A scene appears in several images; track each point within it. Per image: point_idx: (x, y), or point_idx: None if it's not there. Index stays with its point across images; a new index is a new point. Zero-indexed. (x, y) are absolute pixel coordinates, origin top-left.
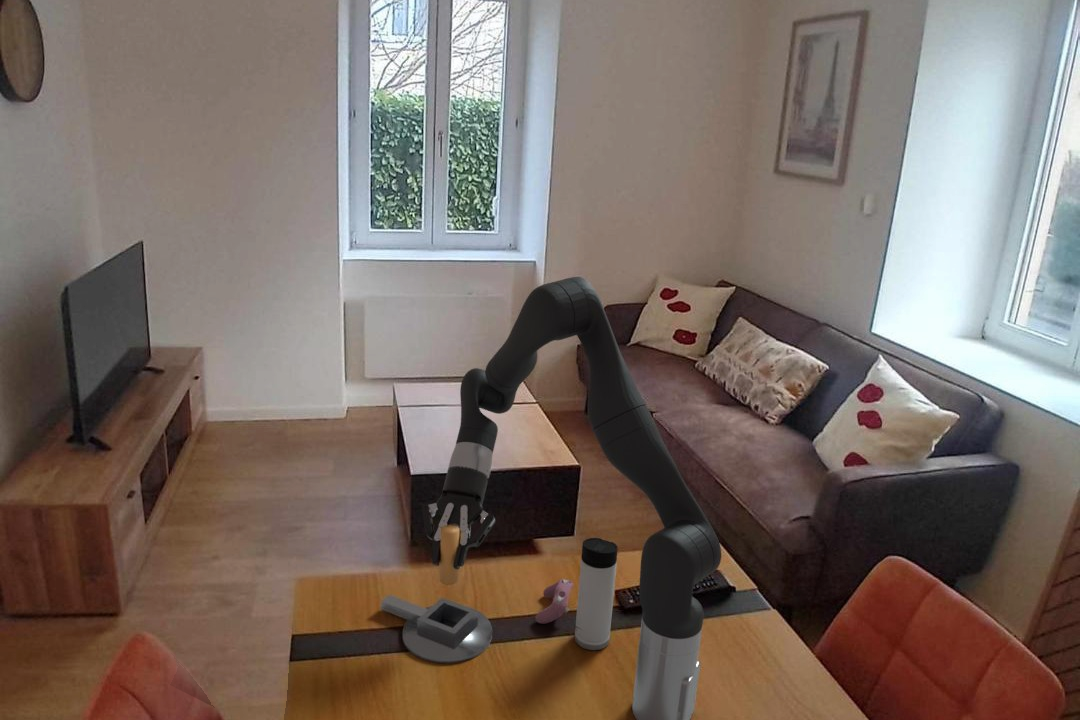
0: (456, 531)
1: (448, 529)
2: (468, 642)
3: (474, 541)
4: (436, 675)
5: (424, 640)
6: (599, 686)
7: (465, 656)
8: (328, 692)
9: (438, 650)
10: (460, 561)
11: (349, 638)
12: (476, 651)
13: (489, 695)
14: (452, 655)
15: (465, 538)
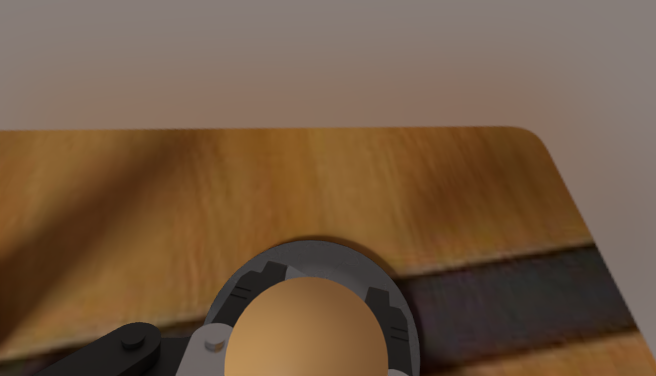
0: (252, 327)
1: (321, 354)
2: None
3: (135, 330)
4: (323, 209)
5: None
6: (8, 187)
7: (267, 251)
8: (502, 164)
9: (326, 269)
10: (251, 280)
11: (528, 319)
12: (242, 268)
13: (225, 161)
14: (294, 253)
15: (195, 359)
